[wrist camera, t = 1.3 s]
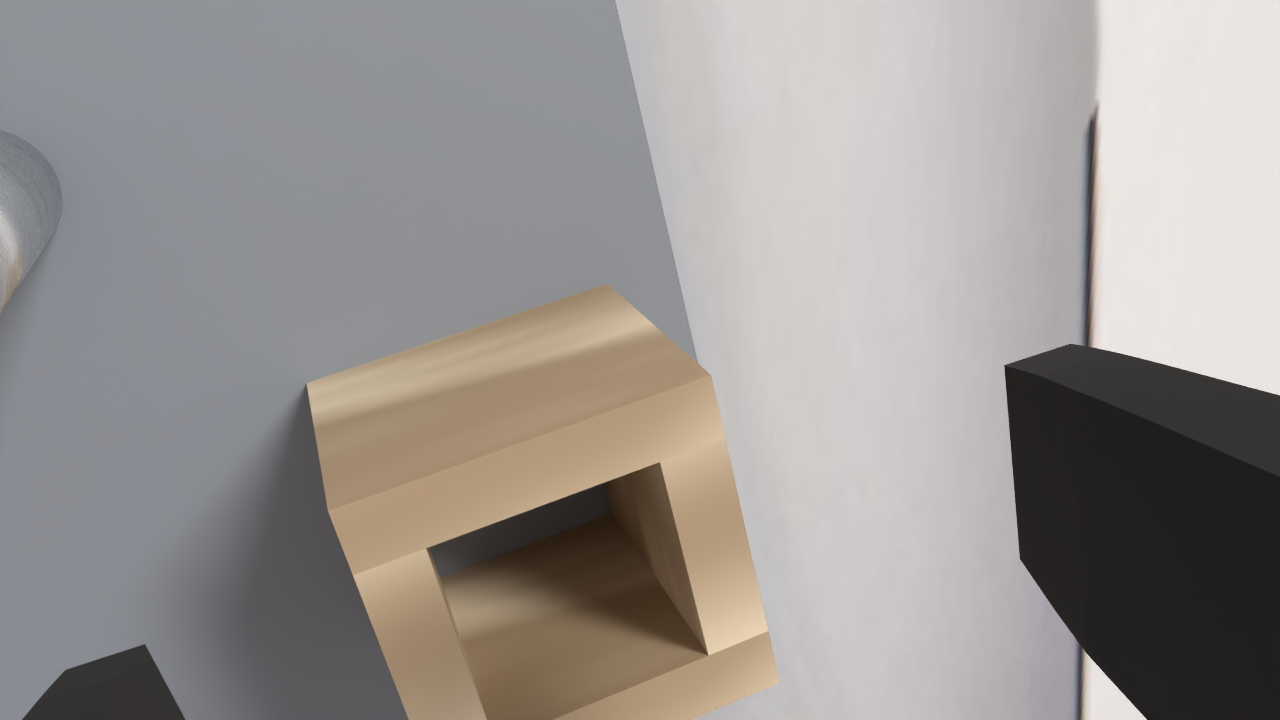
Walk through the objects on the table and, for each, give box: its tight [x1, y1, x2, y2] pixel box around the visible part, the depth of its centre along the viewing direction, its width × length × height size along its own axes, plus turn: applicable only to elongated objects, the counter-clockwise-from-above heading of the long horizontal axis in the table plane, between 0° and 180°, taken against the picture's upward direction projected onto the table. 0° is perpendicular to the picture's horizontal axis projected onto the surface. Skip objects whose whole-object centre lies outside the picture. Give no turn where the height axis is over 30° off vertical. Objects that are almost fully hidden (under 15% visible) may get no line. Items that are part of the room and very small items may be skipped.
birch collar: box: [307, 284, 780, 720], centre depth 19 cm, size 5×5×5 cm
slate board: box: [0, 0, 698, 720], centre depth 19 cm, size 20×14×1 cm
